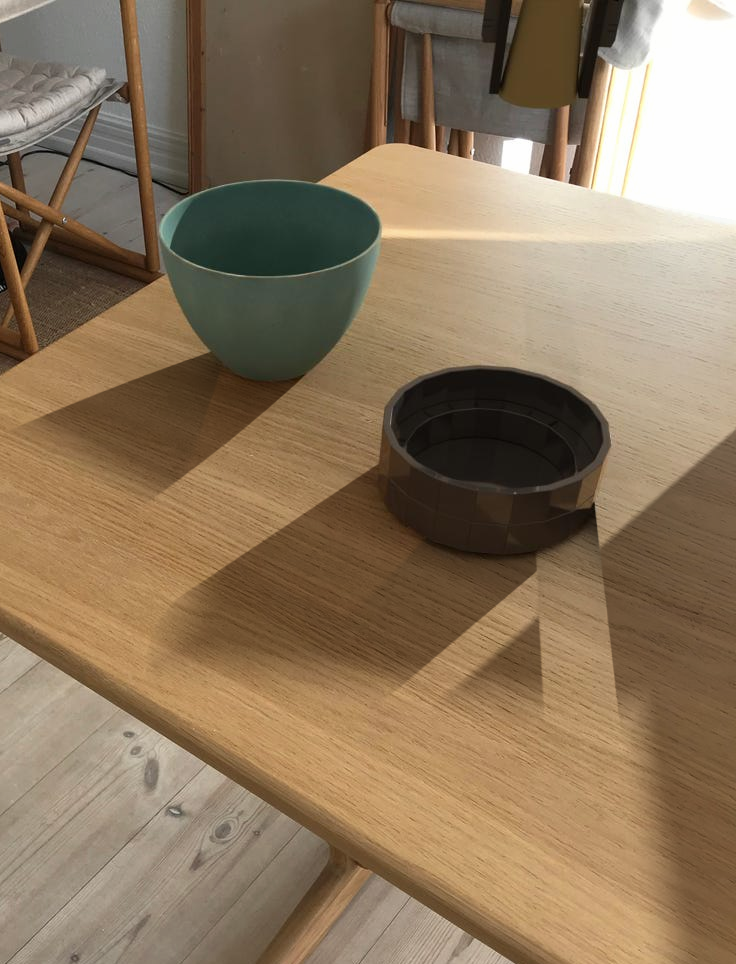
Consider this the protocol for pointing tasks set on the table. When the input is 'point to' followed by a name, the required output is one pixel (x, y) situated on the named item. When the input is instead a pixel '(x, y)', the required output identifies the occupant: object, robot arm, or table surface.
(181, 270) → the teal green deep bowl
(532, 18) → the yellow pawn
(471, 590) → the table surface
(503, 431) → the bowl
